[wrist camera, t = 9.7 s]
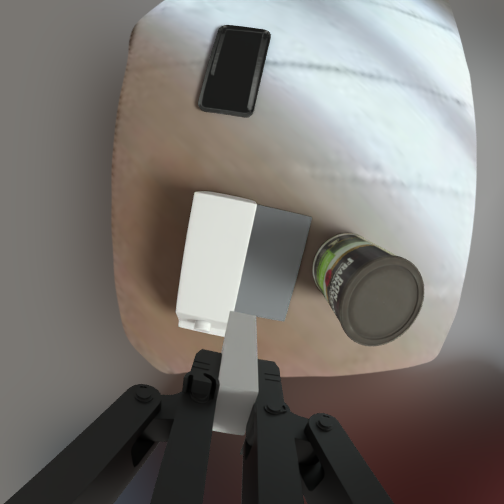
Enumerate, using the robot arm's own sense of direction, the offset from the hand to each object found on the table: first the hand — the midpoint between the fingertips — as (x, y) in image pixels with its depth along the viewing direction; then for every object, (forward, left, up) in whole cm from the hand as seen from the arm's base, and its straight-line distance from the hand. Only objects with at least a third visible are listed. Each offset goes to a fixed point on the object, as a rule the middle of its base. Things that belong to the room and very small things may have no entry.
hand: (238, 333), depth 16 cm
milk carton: (-7, -3, -20) cm, 22 cm away
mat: (+2, 0, -24) cm, 24 cm away
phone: (-25, -7, -25) cm, 36 cm away
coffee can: (0, +15, -25) cm, 29 cm away
